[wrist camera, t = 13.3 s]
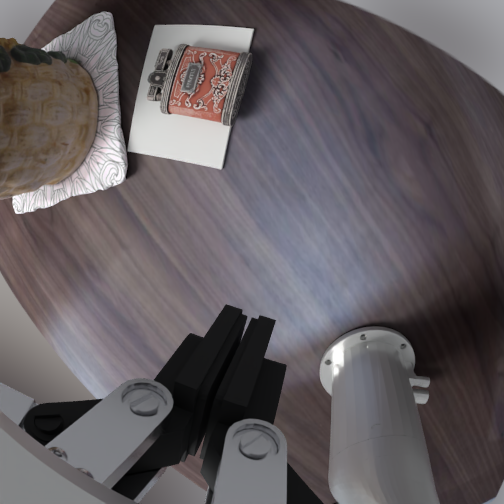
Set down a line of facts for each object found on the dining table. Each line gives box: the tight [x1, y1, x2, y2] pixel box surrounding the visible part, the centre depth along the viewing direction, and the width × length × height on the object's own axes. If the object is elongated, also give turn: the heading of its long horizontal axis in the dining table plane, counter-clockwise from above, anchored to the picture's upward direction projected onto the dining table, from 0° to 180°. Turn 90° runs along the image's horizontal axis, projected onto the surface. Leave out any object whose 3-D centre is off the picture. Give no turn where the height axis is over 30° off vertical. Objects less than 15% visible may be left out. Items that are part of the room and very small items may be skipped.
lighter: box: [147, 44, 252, 127], centre depth 28 cm, size 8×3×10 cm
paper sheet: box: [127, 25, 254, 169], centre depth 30 cm, size 12×16×1 cm
